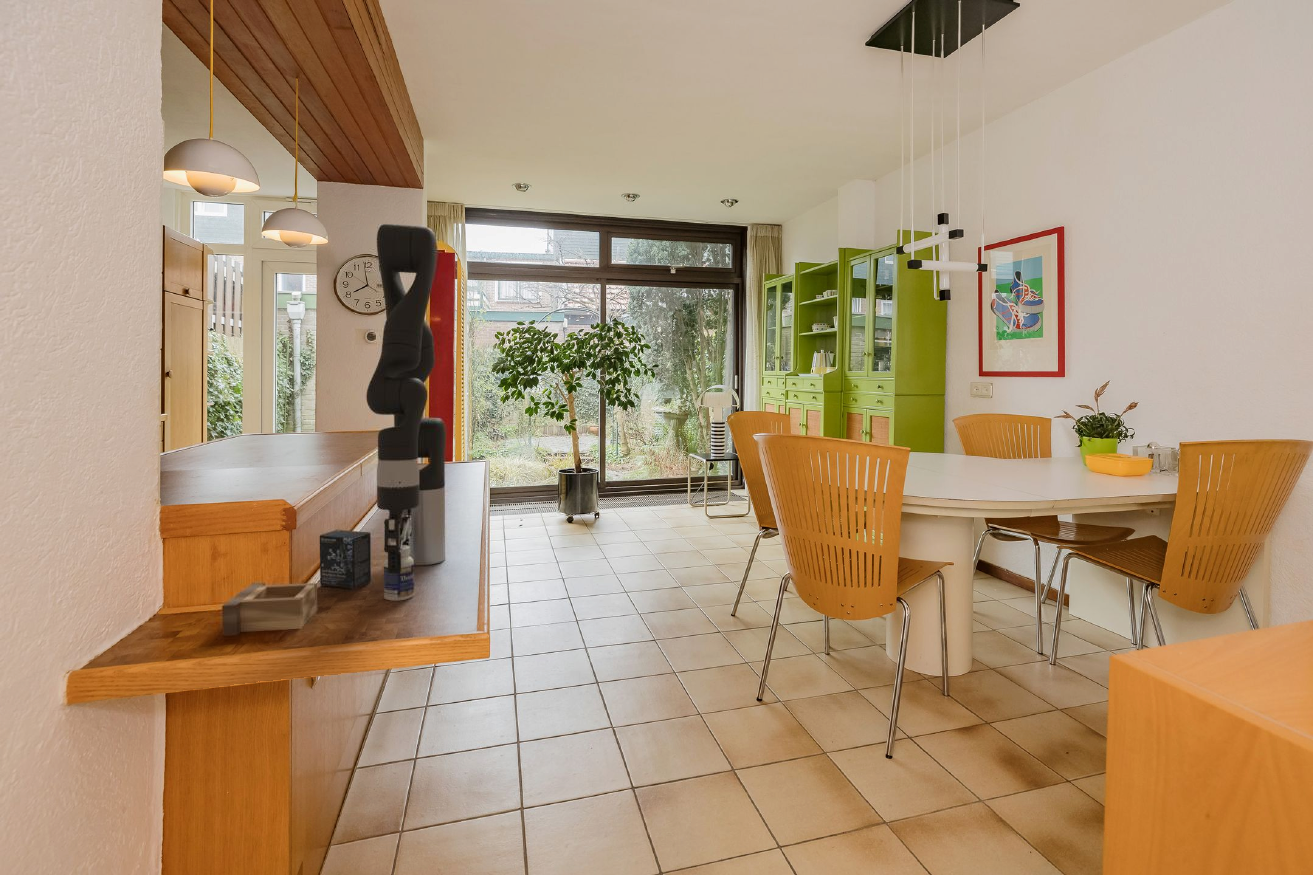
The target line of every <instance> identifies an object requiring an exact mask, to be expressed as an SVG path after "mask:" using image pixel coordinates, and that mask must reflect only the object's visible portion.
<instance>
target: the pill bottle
mask: <svg viewBox="0 0 1313 875" xmlns="http://www.w3.org/2000/svg"><path fill="white" fill-rule="evenodd" d="M386 554H387V555H388V553H387V552H386ZM409 554H410V547H409V546H407V545H402V551H401V571H400V573H389V572H388V557H387V558H386V559H385V560H384V561H383V596H384V599H385V600H388V601H392V602H395V601H397V602H398V601H405V600H408V599H410V598H412V597H413V596H414V595H415V569H414V568H415V565H414V560H413V558H411V557H410V556H409Z"/></svg>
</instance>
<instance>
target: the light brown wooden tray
mask: <svg viewBox="0 0 1313 875" xmlns="http://www.w3.org/2000/svg"><path fill="white" fill-rule="evenodd" d="M317 612H318V583H317V582H316V583H315V582H313V583H311V582H310V583H286V584H282V583H281V584H265V585H261V586H260V587H259V588H257V589H256V590H255V591H254V592H252V593H251V594H250V595H248V596H247V597H246V598H245V599H243V600H242V601H241V602H240V620H241V632H240V633H244V632H262V631H263V632H264V631H265V632H266V631H281V630H282V631H283V630H284V631H285V630H301V629H302V628H303V626H305V625H306V623H308V621H309V620H310V619H311V618H312V617H313V616H314V615H315V614H316V613H317Z"/></svg>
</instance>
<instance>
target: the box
mask: <svg viewBox="0 0 1313 875" xmlns="http://www.w3.org/2000/svg"><path fill="white" fill-rule="evenodd" d="M371 537H372V536H371V532H370V531H369V532H368V531H355V530H345V529H343V530H342V529H335V530H331V531H329V532H326V533H322V534H320V535H319V579H320V580H319V583H320V585H319V586H320V587H334V588H342V589H349V590H355V589H357V588H360V587H363V586H365V585H367V584H369V583H370V582H371V581H372V578H371V575H372V574H371V573H372V571H371V570H372V564H371V563H372V562H371V560H372V559H371V558H372V557H371V556H372V555H371V554H372V553H371V552H372V550H371V544H372V542H371V541H372V540H371Z"/></svg>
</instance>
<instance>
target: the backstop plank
mask: <svg viewBox="0 0 1313 875" xmlns="http://www.w3.org/2000/svg"><path fill="white" fill-rule="evenodd" d="M261 585H266V582H253V583H251V584H250V585H248V586H246V587H245V588H244V589H242V591H240V592H239V593H237V594H236V595H235V596H234V597H232V598H230V599H229V600H228V601H226V602H225V603H224V604H223V605H222V606H221V611H222V612H221V613H222V637H230V636H238V635H239V634H240V633H242V632H241V620H240V602H241V601H242V600H243V599H245V598H246V597H247V596H248V595H250V594H251V593H252V592H254V591H255V590H256V589H257V588H259V587H260V586H261Z"/></svg>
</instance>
